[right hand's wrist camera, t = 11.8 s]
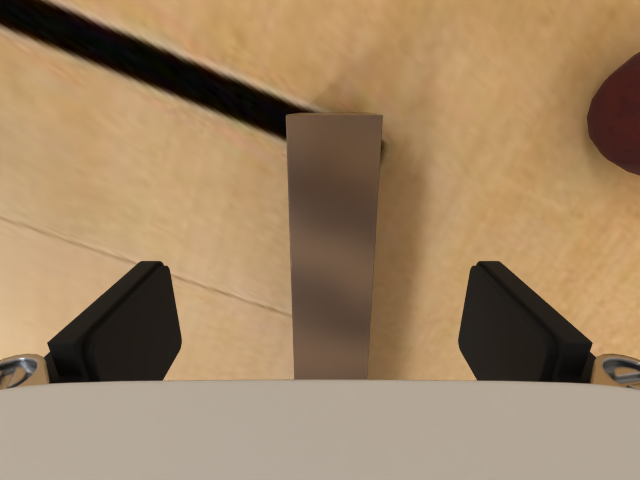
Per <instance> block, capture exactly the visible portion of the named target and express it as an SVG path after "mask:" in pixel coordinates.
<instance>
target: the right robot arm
mask: <svg viewBox="0 0 640 480" xmlns="http://www.w3.org/2000/svg"><path fill="white" fill-rule="evenodd" d="M181 343H182V338H181V332H180V326H179V321H178V315H177V309H176V303H175V297H174V292H173V286H172V280H171V274H170V270H169V267H168V266H164V265H163V263H162V262H161V261H141V262H139V263H138V264H137V265H136V266H135V267H133V268H132V269H131V270H130V271H129V272H128V273H127V274H125V275H124V276H123V277H122V278H121V279H120V280H119V281H117V282H116V283H115V284H114V285H113V286H112V287H111V288H109V289H108V290H107V291H106V292H105V293H104V294H103V295H101V296H100V297H99V298H98V299H97V300H96V301H95V302H93V303H92V304H91V305H90V306H89V307H88V308H87V309H85V310H84V311H83V312H82V313H81V314H80V315H79V316H77V317H76V318H75V319H74V320H73V321H72V322H71V323H69V324H68V325H67V326H66V327H65V328H64V329H63V330H61V331H60V332H59V333H58V334H57V335H56V336H55V337H53V338H52V339H51V340H50V341H49V342H48V346H49V349H50V352H49V353H48V354H47V355H46V356H45V357H44V358H43V357H42V356H40V355H37V354H22V355H15V356H12V357H8V358H4V359H2V360H0V480H640V360H638V359H636V358H632V357H628V356H625V355H618V354H603V355H600V356H598V357H597V358H596V357H595V356H594V355H593V354H592V353H591V352H590V349H591V346H592V342H591V341H590V340H589V339H588V338H587V337H585V336H584V335H583V334H582V333H581V332H580V331H579V330H577V329H576V328H575V327H574V326H573V325H572V324H571V323H569V322H568V321H567V320H566V319H565V318H564V317H563V316H561V315H560V314H559V313H558V312H557V311H556V310H555V309H553V308H552V307H551V306H550V305H549V304H548V303H547V302H545V301H544V300H543V299H542V298H541V297H540V296H539V295H537V294H536V293H535V292H534V291H533V290H532V289H531V288H529V287H528V286H527V285H526V284H525V283H524V282H523V281H521V280H520V279H519V278H518V277H517V276H516V275H515V274H513V273H512V272H511V271H510V270H509V269H508V268H507V267H505V266H504V265H503V264H502V263H501V262H499V261H479V262H478V263H477V265H476V266H472V267H471V270H470V274H469V280H468V286H467V292H466V297H465V303H464V309H463V315H462V321H461V326H460V332H459V338H458V343H459V348H460V351H461V353H462V354H463V356H464V358H465V360H466V361H467V363H468V365H469V367H470V368H471V370H472V372H473V374H474V375H475V377H476V379H477V381H454V380H186V381H163V379H164V377H165V375H166V374H167V372H168V370H169V368H170V367H171V365H172V363H173V361H174V360H175V358H176V356H177V354H178V353H179V351H180V348H181Z"/></svg>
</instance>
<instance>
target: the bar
mask: <svg viewBox="0 0 640 480" xmlns="http://www.w3.org/2000/svg"><path fill="white" fill-rule="evenodd" d="M382 119H383V116H382V115H378V114H372V113H296V114H290V115H286V134H287V165H288V195H289V226H290V257H291V288H292V319H293V350H294V380H367V369H368V353H369V336H370V319H371V302H372V286H373V269H374V252H375V236H376V219H377V202H378V186H379V169H380V152H381V136H382Z"/></svg>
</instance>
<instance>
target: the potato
mask: <svg viewBox="0 0 640 480" xmlns="http://www.w3.org/2000/svg"><path fill="white" fill-rule="evenodd" d="M587 121H588V130H589V135H590V138H591V140H592V141H593V143H594V144H595V145H596V147H597V148H598V150H599V151H600V153H601V154H602V155H603V156H604V157H605V158H607V159H608V160H609V161H611V162H613V163H614V164H616V165H618V166H619V167H621V168H623V169H624V170H626V171H628V172H631V173H634V174H637V175H640V52H639V53H637V54H636V55H634V56H633V57H632V58H630V59H629V60H628V61H627V62H626V63H624V64H623V65H622V66H621V67H620V68H618V69H617V70H616V71H615V72H614V73H612V74H611V75H610V76H609V77H608V78H607V79H606V81H605V82H604V83H603V84H602V86H601V87H600V89H599V90H598V92H597V93H596V95H595V96H594V98H593V99H592V102H591V105H590V109H589V112H588V116H587Z"/></svg>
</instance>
